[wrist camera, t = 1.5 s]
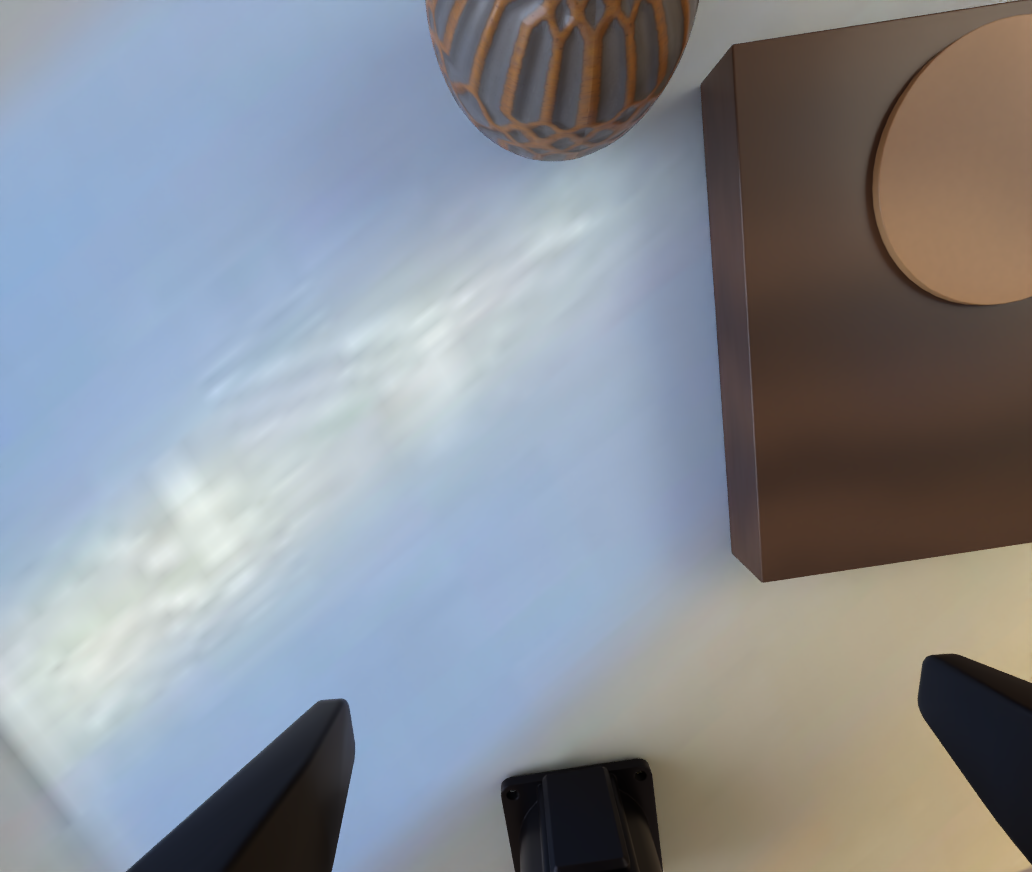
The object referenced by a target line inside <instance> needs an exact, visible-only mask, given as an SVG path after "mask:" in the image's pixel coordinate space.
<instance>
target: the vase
mask: <svg viewBox="0 0 1032 872" xmlns="http://www.w3.org/2000/svg"><path fill="white" fill-rule="evenodd" d="M425 3H426V12H427V18H428V24H429V30H430V35H431V39H432V43H433V47H434V50H435V54H436V57H437V60H438V63H439V66H440V69H441V71H442V74H443V76H444V78H445V81H446V83H447V85H448V87H449V89H450V91H451V93H452V95H453V97H454V99H455V100H456V102H457V104H458V105H459V107H460V108H461V109H462V111H463V112H464V114H465V115H466V116H467V117H468V118H469V120H470V121H471V122H472V123H473V124H474V125H475V126H476V127H477V128H478V129H479V130H480V131H481V132H482V133H483V134H484V135H485V136H486V137H488V138H489V139H490V140H492V141H493V142H494V143H496V144H497V145H499V146H501V147H502V148H504V149H506V150H508V151H510V152H512V153H515V154H517V155H520V156H523V157H526V158H530V159H535V160H541V161H564V160H571V159H576V158H580V157H583V156H586V155H589V154H591V153H594V152H596V151H598V150H600V149H602V148H604V147H606V146H608V145H610V144H611V143H613V142H615V141H616V140H617V139H619V138H620V137H622V136H623V135H624V134H625V133H627V132H628V131H629V130H630V129H631V128H632V127H633V126H634V125H635V124H636V123H637V122H638V121H639V120H640V119H641V118H642V117H643V116H644V115H645V114H646V113H647V111H648V110H649V109H650V108H651V106H652V105H653V104H654V103H655V101H656V100H657V99H658V97H659V96H660V95H661V93H662V92H663V90H664V89H665V87H666V86H667V84H668V82H669V80H670V79H671V77H672V75H673V73H674V72H675V70H676V68H677V66H678V64H679V62H680V60H681V58H682V55H683V53H684V50H685V48H686V45H687V42H688V40H689V37H690V34H691V31H692V27H693V24H694V20H695V16H696V12H697V7H698V3H699V0H425Z"/></svg>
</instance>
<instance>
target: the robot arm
mask: <svg viewBox="0 0 1032 872" xmlns="http://www.w3.org/2000/svg"><path fill="white" fill-rule="evenodd" d="M918 706H919V709H920V712H921V714H922V716H923V718H924V719H925V721H926V722H927V724H928V725H929V727H930V728H931V729H932V731H933V732H934V734H935V735H936V736H937V738H938V739H939V741H940V742H941V744H942V745H943V746H944V748H945V749H946V751H947V752H948V754H949V755H950V756H951V758H952V759H953V761H954V762H955V763H956V765H957V766H958V768H959V769H960V771H961V772H962V773H963V775H964V776H965V778H966V779H967V780H968V782H969V783H970V785H971V786H972V788H973V789H974V790H975V792H976V793H977V795H978V796H979V797H980V799H981V800H982V802H983V803H984V805H985V806H986V807H987V809H988V810H989V811H990V813H991V814H992V815H993V817H994V818H995V820H996V821H997V822H998V824H999V825H1000V826H1001V827H1002V829H1003V830H1004V831H1005V832H1006V834H1007V835H1008V836H1009V837H1010V839H1011V840H1012V841H1013V842H1014V844H1015V845H1016V846H1017V847H1018V849H1019V850H1020V851H1021V852H1022V853H1023V855H1024V856H1025V857H1026V858H1027V860H1028V861H1029V862H1030V863H1031V864H1032V683H1030V682H1027V681H1025V680H1022V679H1020V678H1017V677H1015V676H1012V675H1009V674H1007V673H1004V672H1002V671H999V670H997V669H994V668H991V667H989V666H986V665H984V664H981V663H979V662H976V661H973V660H971V659H968V658H966V657H963V656H961V655H957V654H939V655H930V656H928V657H926V658H925V660H924V661H923V664H922V670H921V678H920V685H919V692H918ZM354 758H355V740H354V734H353V727H352V721H351V715H350V709H349V705H348V703H347V701H346V700H344V699H329V700H321V701H318V702H317V703H316V704H314V705H313V706H312V707H311V708H310V709H309V710H308V711H306V712H305V713H304V714H303V715H302V716H301V717H300V718H299V719H297V720H296V721H295V722H294V723H293V724H292V725H291V726H290V727H288V728H287V729H286V730H285V731H284V732H283V733H282V734H281V735H279V736H278V737H277V738H276V739H275V740H274V741H273V742H272V743H270V744H269V745H268V746H267V747H266V748H265V749H264V750H263V751H261V752H260V753H259V754H258V755H257V756H256V757H255V758H254V759H252V760H251V761H250V762H249V763H248V764H247V765H246V766H244V767H243V768H242V769H241V770H240V771H239V772H238V773H237V774H235V775H234V776H233V777H232V778H231V779H230V780H229V781H228V782H226V783H225V784H224V785H223V786H222V787H221V788H220V789H219V790H217V791H216V792H215V793H214V794H213V795H212V796H211V797H210V798H208V799H207V800H206V801H205V802H204V803H203V804H202V805H201V806H199V807H198V808H197V809H196V810H195V811H194V812H193V813H192V814H190V815H189V816H188V817H187V818H186V819H185V820H184V821H183V822H181V823H180V824H179V825H178V826H177V827H176V828H175V829H173V830H172V831H171V832H170V833H169V834H168V835H167V836H166V837H164V838H163V839H162V840H161V841H160V842H159V843H158V844H157V845H155V846H154V847H153V848H152V849H151V850H150V851H149V852H148V853H146V854H145V855H144V856H143V857H142V858H141V859H140V860H139V861H137V862H136V863H135V864H134V865H133V866H132V867H131V868H130V869H128V870H127V871H126V872H331V871H332V867H333V862H334V858H335V853H336V848H337V843H338V838H339V833H340V828H341V823H342V818H343V813H344V808H345V803H346V798H347V793H348V788H349V784H350V779H351V774H352V769H353V764H354ZM639 771H642V772H641V773H637V772H639ZM511 790H516V791H514V792H510V791H511ZM501 798H502V803H503V809H504V814H505V819H506V825H507V830H508V836H509V841H510V846H511V852H512V857H513V863H514V868H515V872H663V867H662V858H661V849H660V840H659V831H658V823H657V814H656V805H655V796H654V787H653V778H652V773H651V770H650V767H649V764H648V762H647V761H646V760H643V759H631V760H624V761H617V762H611V763H604V764H597V765H590V766H584V767H577V768H570V769H563V770H557V771H550V772H543V773H536V774H530V775H523V776H516V777H510V778H507V779H506V780H504V781H503V783H502V785H501Z"/></svg>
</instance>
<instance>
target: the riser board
mask: <svg viewBox="0 0 1032 872" xmlns="http://www.w3.org/2000/svg"><path fill="white" fill-rule="evenodd" d="M700 88H701V103H702V118H703V133H704V147H705V162H706V177H707V192H708V207H709V221H710V236H711V251H712V266H713V281H714V296H715V310H716V325H717V340H718V355H719V370H720V384H721V399H722V414H723V429H724V444H725V458H726V473H727V488H728V503H729V518H730V533H731V547H732V554H733V555H734V556H735V557H736V558H737V559H738V560H739V561H740V562H741V563H742V564H743V565H745V566H746V567H747V568H748V569H749V570H750V571H751V572H752V573H753V574H754V575H755V576H756V577H757V578H758V579H759V580H760V581H761V582H770V581H777V580H784V579H790V578H797V577H804V576H810V575H817V574H824V573H831V572H837V571H844V570H851V569H857V568H864V567H871V566H877V565H884V564H891V563H898V562H904V561H911V560H918V559H924V558H931V557H938V556H944V555H951V554H958V553H965V552H971V551H978V550H985V549H991V548H998V547H1005V546H1011V545H1018V544H1025V543H1031V542H1032V0H1018V1H1012V2H1005V3H999V4H992V5H986V6H979V7H973V8H966V9H960V10H953V11H947V12H941V13H934V14H928V15H921V16H915V17H908V18H902V19H895V20H889V21H882V22H876V23H869V24H863V25H856V26H850V27H843V28H837V29H830V30H824V31H817V32H811V33H804V34H798V35H791V36H785V37H778V38H772V39H765V40H759V41H753V42H746V43H740V44H733V45H732V46H731V47H730V48H729V50H728V51H727V52H726V53H725V54H724V56H723V57H722V58H721V59H720V61H719V62H718V63H717V64H716V66H715V67H714V68H713V69H712V71H711V72H710V73H709V74H708V76H707V77H706V78H705V79H704V81H703V82H702V83H701V85H700Z"/></svg>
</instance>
